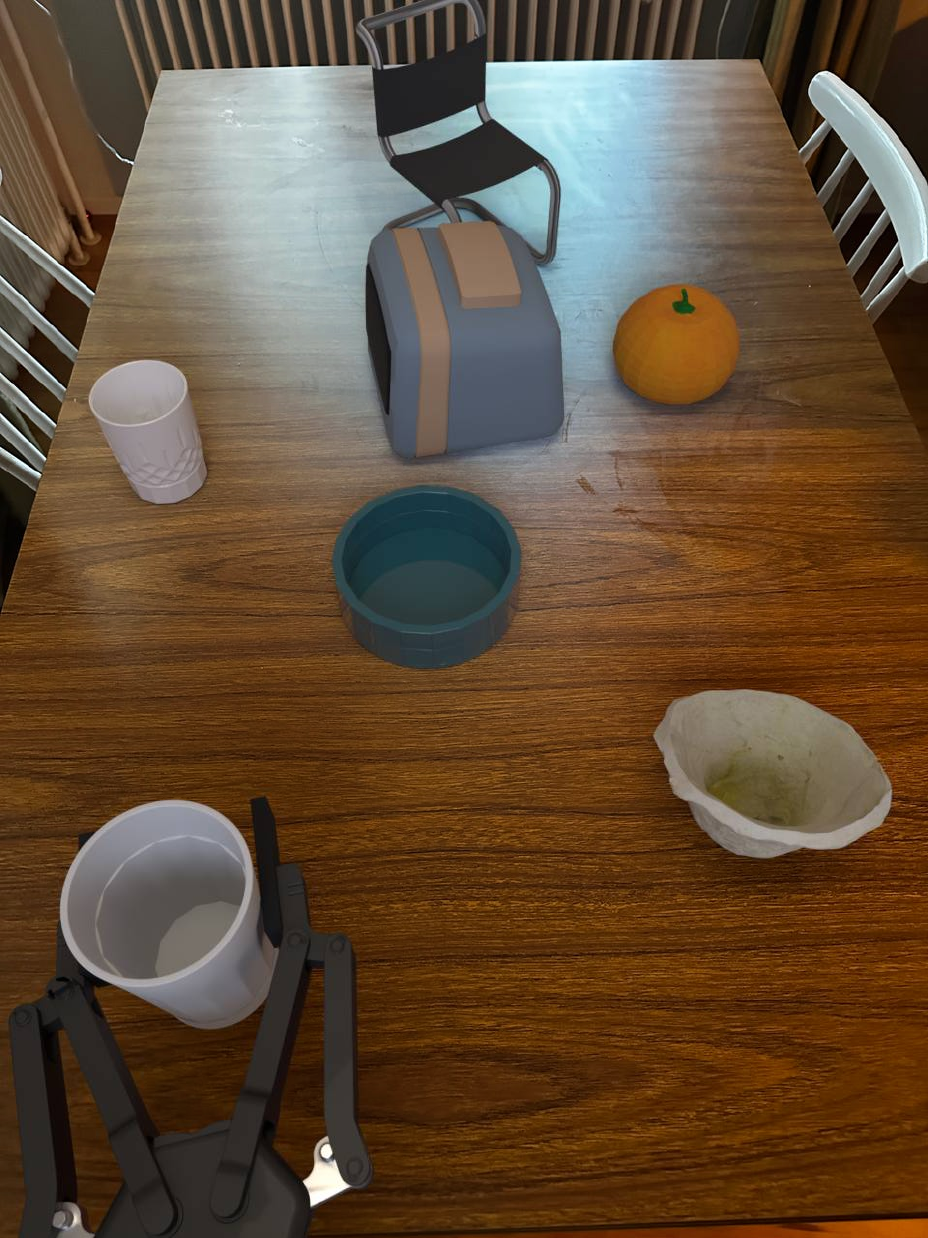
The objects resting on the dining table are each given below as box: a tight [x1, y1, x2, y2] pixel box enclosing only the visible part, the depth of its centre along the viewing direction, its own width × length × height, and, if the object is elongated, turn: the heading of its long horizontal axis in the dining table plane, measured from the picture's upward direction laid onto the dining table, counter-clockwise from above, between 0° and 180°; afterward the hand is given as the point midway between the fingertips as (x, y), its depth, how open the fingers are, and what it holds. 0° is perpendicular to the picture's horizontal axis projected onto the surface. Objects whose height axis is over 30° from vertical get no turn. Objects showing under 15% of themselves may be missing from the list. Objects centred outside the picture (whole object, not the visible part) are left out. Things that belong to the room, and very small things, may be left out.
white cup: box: [88, 359, 208, 505], centre depth 81 cm, size 8×8×10 cm
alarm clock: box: [364, 220, 565, 459], centre depth 85 cm, size 16×16×16 cm
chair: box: [355, 0, 562, 266], centre depth 95 cm, size 13×17×22 cm
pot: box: [331, 484, 522, 670], centre depth 76 cm, size 15×15×5 cm
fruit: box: [611, 283, 741, 406], centre depth 88 cm, size 12×12×10 cm
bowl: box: [653, 688, 893, 859], centre depth 63 cm, size 15×14×10 cm
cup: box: [59, 799, 280, 1030], centre depth 45 cm, size 8×8×12 cm
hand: (180, 826), depth 47 cm, fingers closed on cup, 7 cm apart
